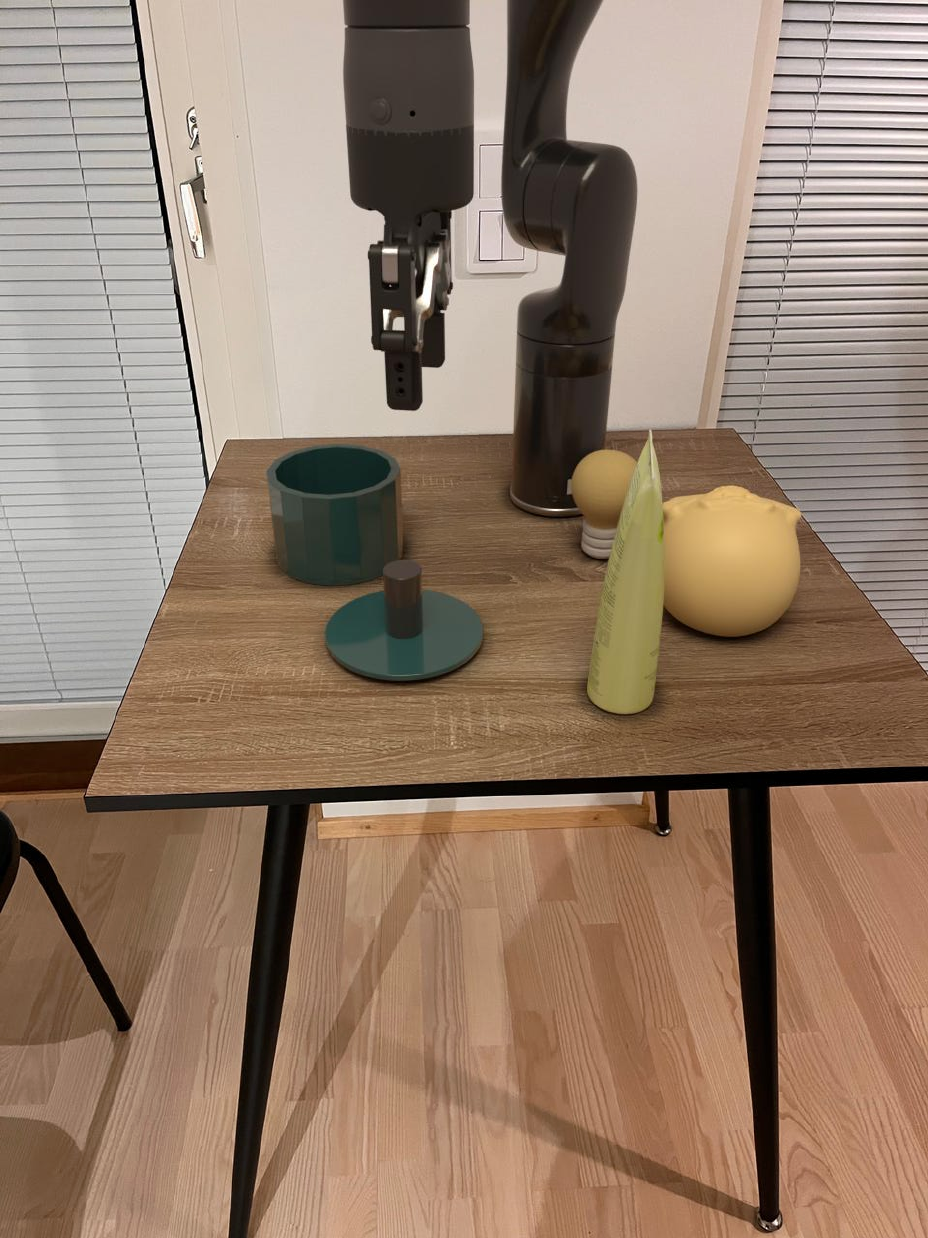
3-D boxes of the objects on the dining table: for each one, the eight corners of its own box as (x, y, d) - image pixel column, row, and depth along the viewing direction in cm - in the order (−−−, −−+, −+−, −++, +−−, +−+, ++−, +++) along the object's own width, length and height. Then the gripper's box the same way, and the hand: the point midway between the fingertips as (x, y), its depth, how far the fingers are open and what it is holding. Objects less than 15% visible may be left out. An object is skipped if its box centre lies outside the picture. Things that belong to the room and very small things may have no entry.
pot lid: (348, 593, 83) (343, 525, 79) (492, 605, 81) (493, 537, 78) (306, 678, 72) (298, 605, 69) (470, 695, 71) (471, 620, 67)
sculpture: (774, 580, 85) (798, 468, 79) (800, 658, 75) (829, 536, 69) (644, 573, 86) (658, 462, 80) (652, 648, 76) (669, 527, 70)
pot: (297, 521, 94) (289, 440, 90) (413, 529, 93) (410, 447, 88) (259, 580, 85) (248, 493, 80) (387, 590, 83) (383, 502, 79)
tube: (674, 705, 70) (713, 457, 59) (621, 730, 68) (652, 475, 57) (622, 667, 74) (650, 428, 63) (571, 689, 72) (591, 444, 61)
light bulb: (641, 542, 91) (652, 444, 85) (628, 574, 86) (639, 472, 80) (575, 532, 93) (582, 434, 87) (559, 563, 88) (565, 461, 82)
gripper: (453, 133, 50) (455, 428, 58) (489, 105, 61) (486, 355, 70) (313, 131, 51) (336, 422, 59) (375, 104, 62) (386, 350, 71)
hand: (417, 385), depth 65 cm, fingers open, 8 cm apart
